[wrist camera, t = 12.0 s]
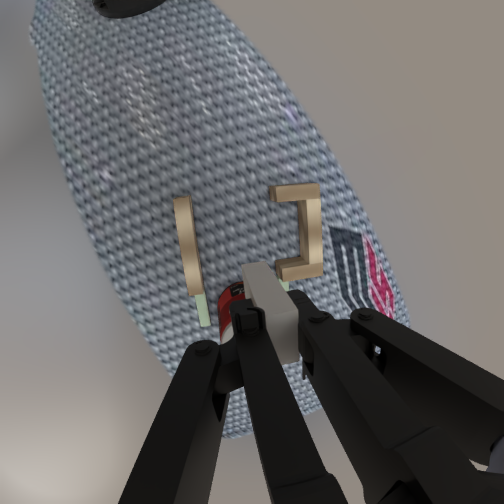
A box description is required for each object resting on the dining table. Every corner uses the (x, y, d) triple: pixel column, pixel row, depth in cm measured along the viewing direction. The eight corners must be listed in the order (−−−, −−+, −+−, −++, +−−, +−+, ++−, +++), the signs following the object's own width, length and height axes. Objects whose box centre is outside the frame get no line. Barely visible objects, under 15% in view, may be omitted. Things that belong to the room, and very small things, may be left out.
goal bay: (194, 287, 40) (193, 291, 38) (285, 274, 42) (288, 277, 40) (201, 321, 41) (201, 326, 40) (287, 308, 43) (290, 312, 42)
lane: (176, 197, 36) (172, 199, 32) (308, 182, 38) (319, 183, 35) (190, 284, 40) (188, 295, 36) (312, 266, 42) (322, 275, 38)
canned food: (276, 292, 42) (297, 328, 32) (250, 331, 43) (263, 374, 33) (233, 271, 40) (242, 303, 30) (208, 313, 41) (210, 355, 31)
